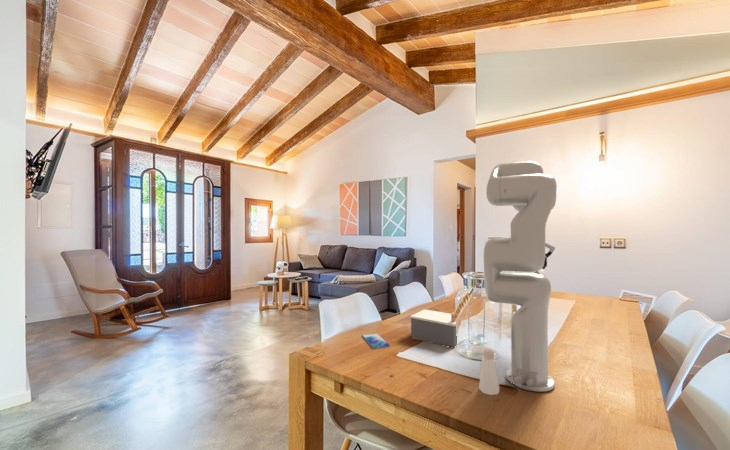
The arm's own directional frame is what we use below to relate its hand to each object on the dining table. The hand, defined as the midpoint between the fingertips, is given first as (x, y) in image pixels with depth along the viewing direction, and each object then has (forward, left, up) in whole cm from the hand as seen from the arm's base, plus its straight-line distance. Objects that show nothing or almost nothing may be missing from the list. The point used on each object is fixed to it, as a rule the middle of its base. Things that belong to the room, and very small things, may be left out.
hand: (529, 267), depth 126 cm
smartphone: (-37, +49, -29) cm, 68 cm away
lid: (-20, +30, -20) cm, 42 cm away
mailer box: (-20, +30, -29) cm, 46 cm away
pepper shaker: (-49, +2, -29) cm, 57 cm away
